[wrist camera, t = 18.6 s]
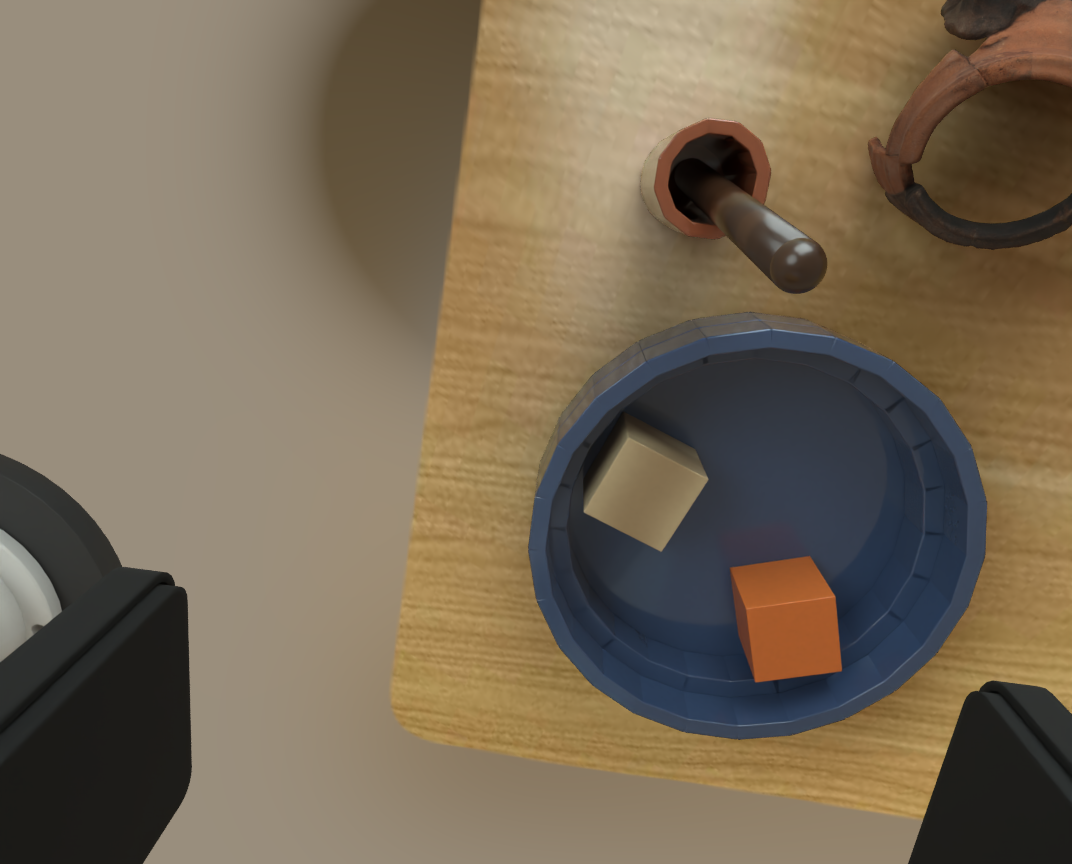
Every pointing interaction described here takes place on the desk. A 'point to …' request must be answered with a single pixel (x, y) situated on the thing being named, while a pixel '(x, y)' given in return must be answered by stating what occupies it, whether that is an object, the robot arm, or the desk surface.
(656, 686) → the bowl
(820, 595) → the orange block
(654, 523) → the pale block
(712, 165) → the holder
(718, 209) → the stick
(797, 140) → the desk surface
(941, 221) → the pottery mug
